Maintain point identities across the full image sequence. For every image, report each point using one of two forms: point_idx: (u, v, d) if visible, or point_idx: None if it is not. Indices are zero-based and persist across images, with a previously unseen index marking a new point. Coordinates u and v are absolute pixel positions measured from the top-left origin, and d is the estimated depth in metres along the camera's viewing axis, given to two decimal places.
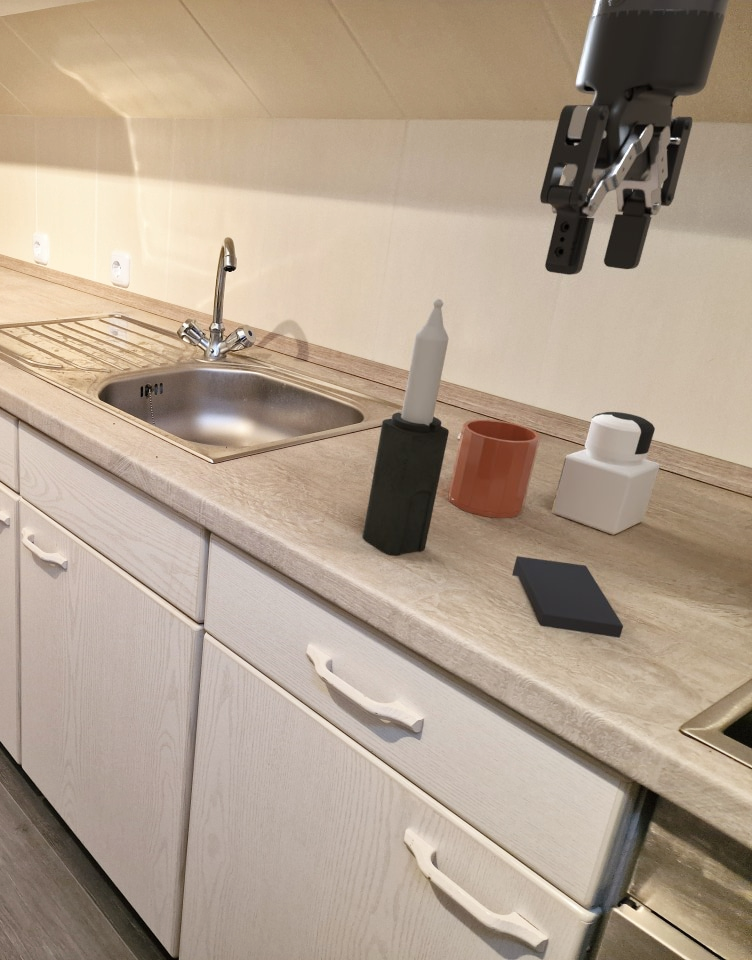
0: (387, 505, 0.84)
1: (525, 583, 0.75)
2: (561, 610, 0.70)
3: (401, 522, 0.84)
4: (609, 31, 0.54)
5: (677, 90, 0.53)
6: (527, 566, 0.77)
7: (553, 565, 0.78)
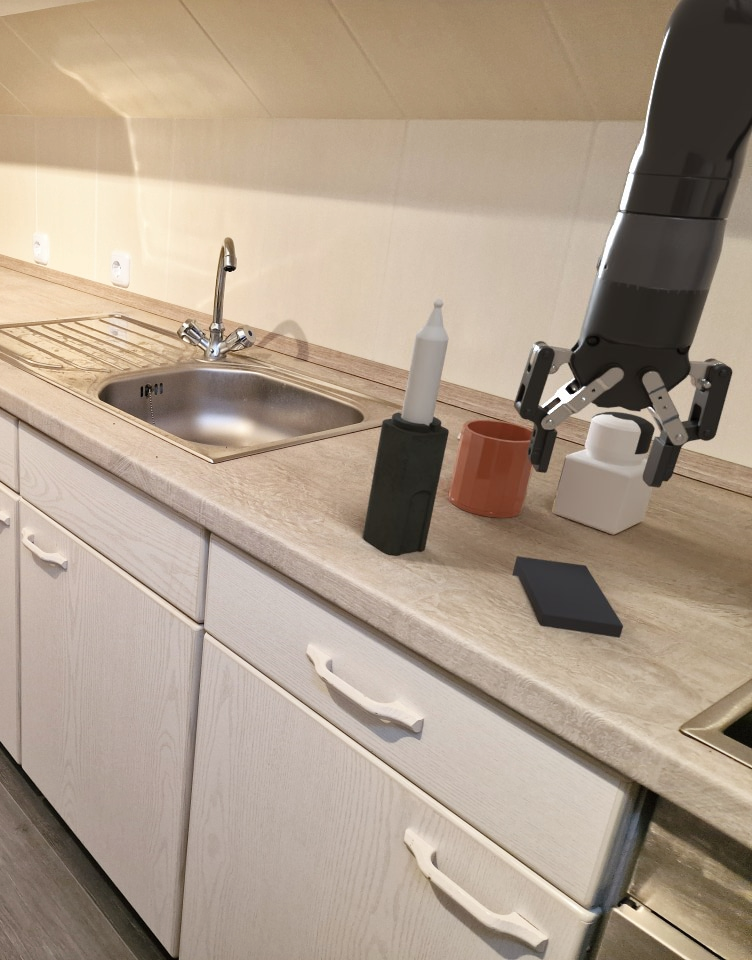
0: (387, 505, 0.84)
1: (525, 583, 0.75)
2: (561, 610, 0.70)
3: (401, 522, 0.84)
4: (592, 289, 0.66)
5: (627, 345, 0.63)
6: (527, 566, 0.77)
7: (553, 565, 0.78)
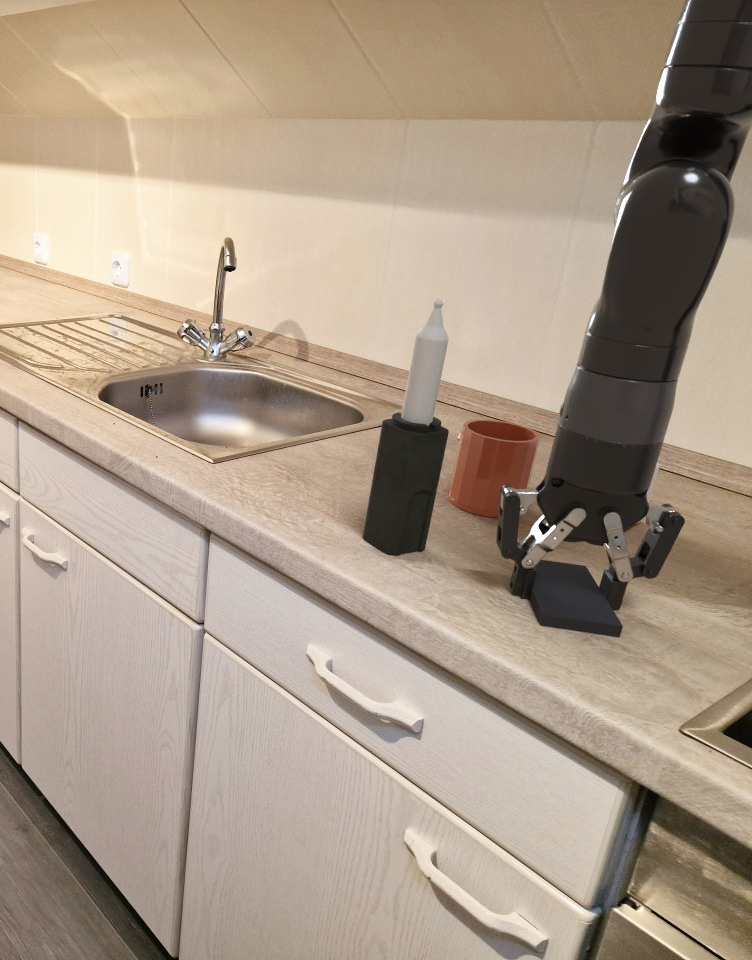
0: (387, 505, 0.84)
1: None
2: (560, 610, 0.70)
3: (401, 522, 0.84)
4: (556, 433, 0.70)
5: (588, 490, 0.68)
6: None
7: (553, 565, 0.78)
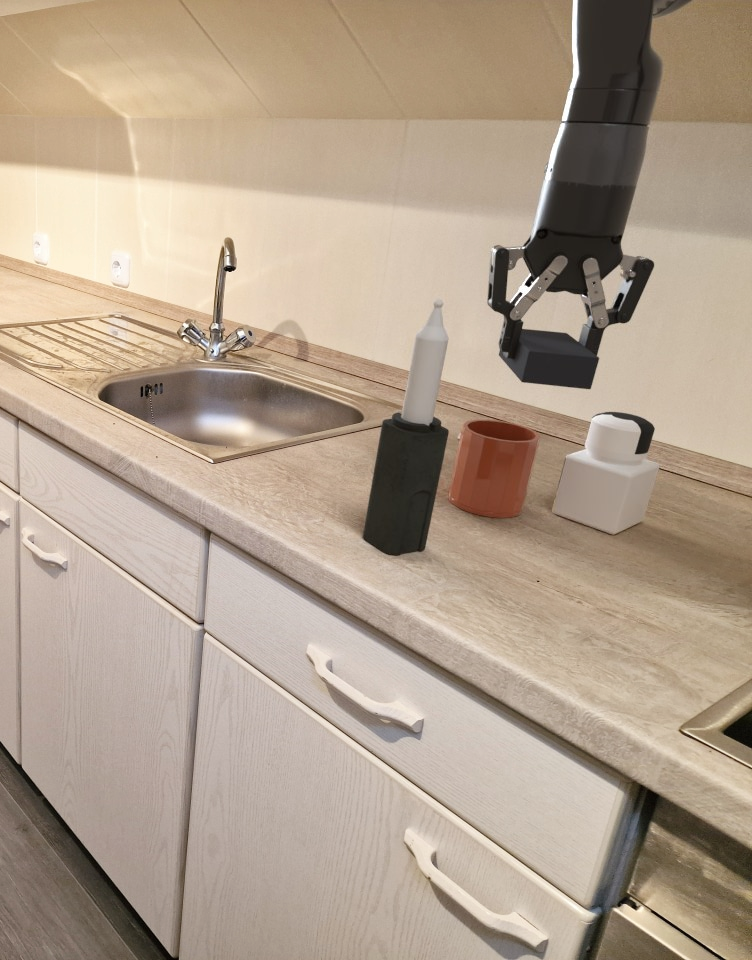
0: (387, 505, 0.84)
1: None
2: (544, 349, 0.79)
3: (401, 522, 0.84)
4: (541, 191, 0.79)
5: (569, 234, 0.76)
6: None
7: (538, 331, 0.86)
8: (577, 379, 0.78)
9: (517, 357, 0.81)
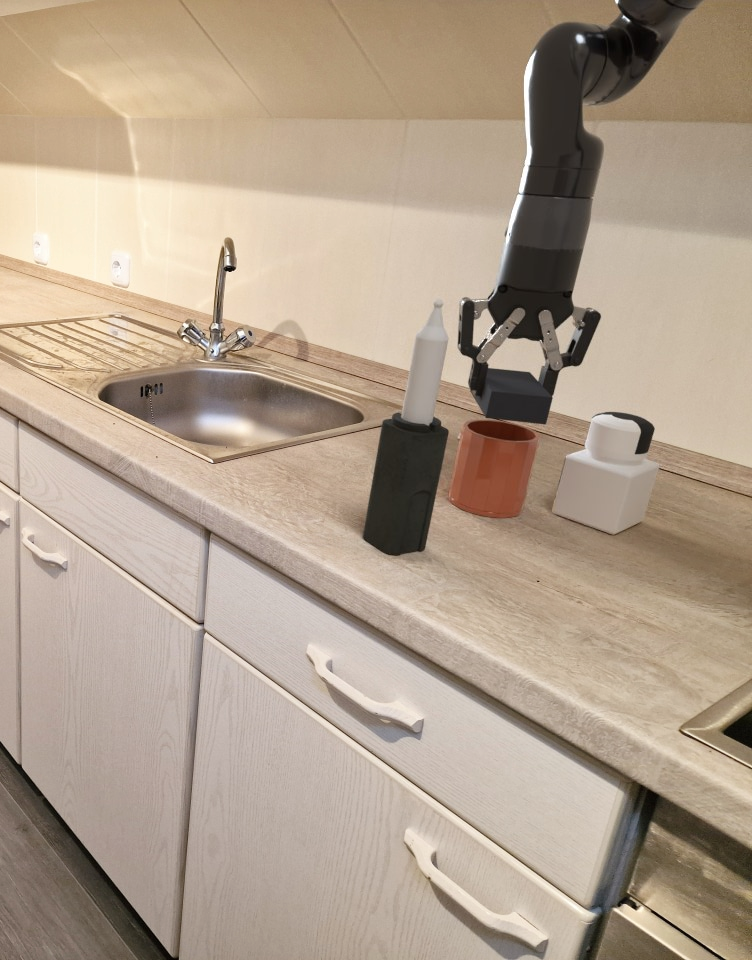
0: (387, 505, 0.84)
1: None
2: (505, 389, 0.90)
3: (401, 522, 0.84)
4: (502, 251, 0.90)
5: (525, 290, 0.87)
6: None
7: (504, 371, 0.98)
8: (534, 415, 0.89)
9: (483, 395, 0.93)
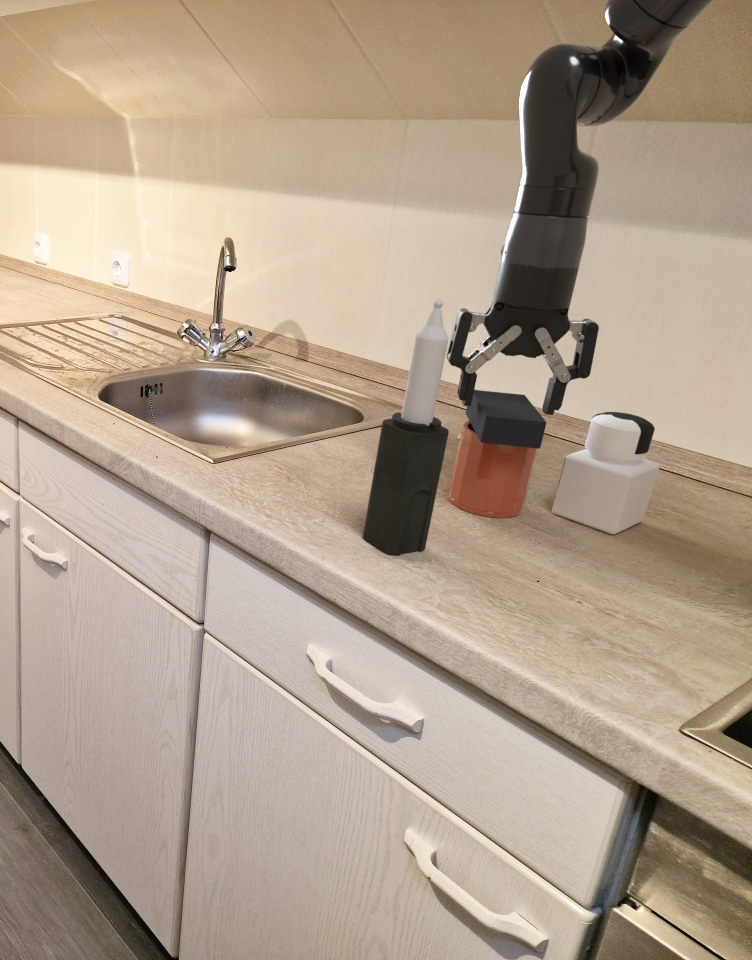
0: (387, 505, 0.84)
1: (475, 403, 0.96)
2: (500, 414, 0.91)
3: (401, 522, 0.84)
4: (498, 269, 0.91)
5: (522, 308, 0.88)
6: (478, 394, 0.98)
7: (499, 394, 0.99)
8: (528, 439, 0.90)
9: (478, 419, 0.94)
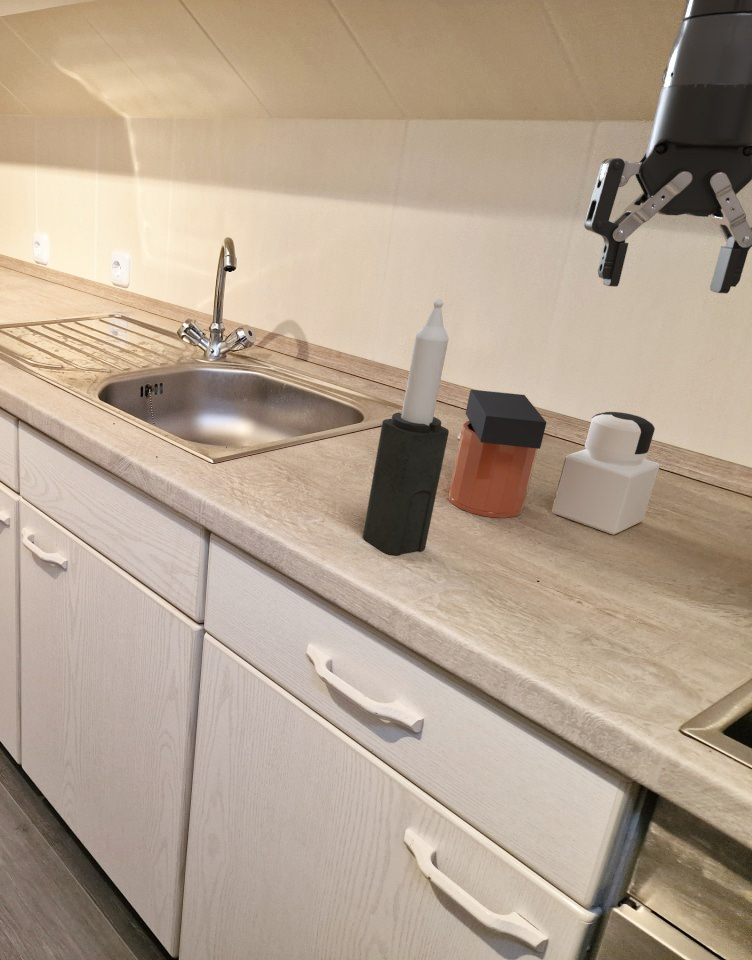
0: (387, 505, 0.84)
1: (475, 403, 0.96)
2: (500, 414, 0.91)
3: (401, 522, 0.84)
4: (658, 102, 0.70)
5: (696, 144, 0.67)
6: (478, 394, 0.98)
7: (499, 394, 0.99)
8: (528, 439, 0.90)
9: (478, 419, 0.94)
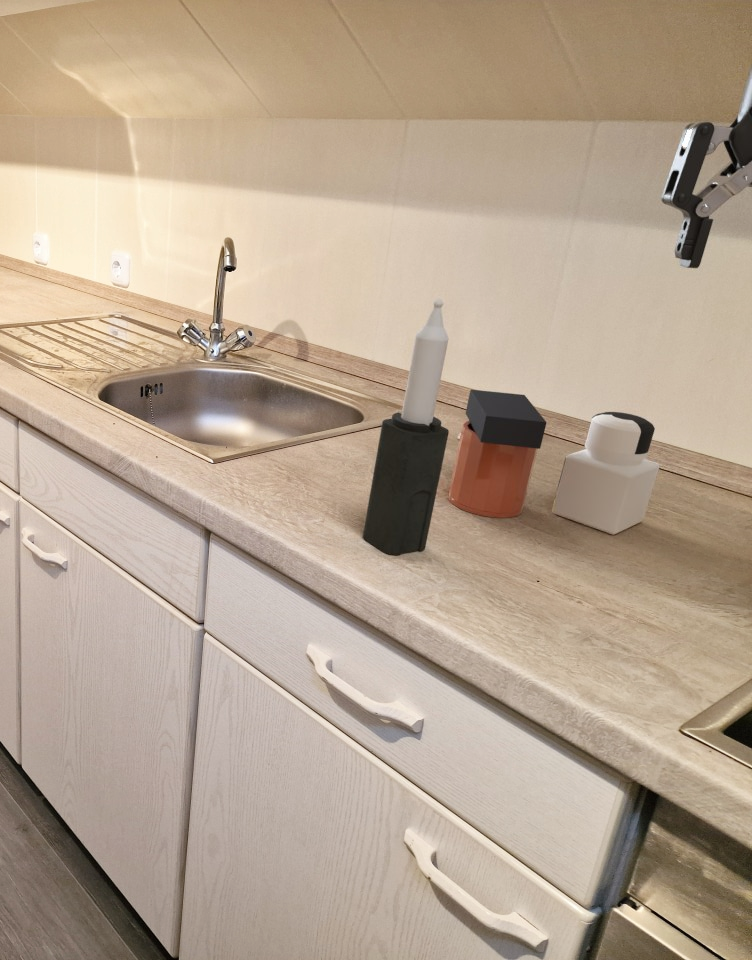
0: (387, 505, 0.84)
1: (475, 403, 0.96)
2: (500, 414, 0.91)
3: (401, 522, 0.84)
4: None
5: None
6: (478, 394, 0.98)
7: (499, 394, 0.99)
8: (528, 439, 0.90)
9: (478, 419, 0.94)
